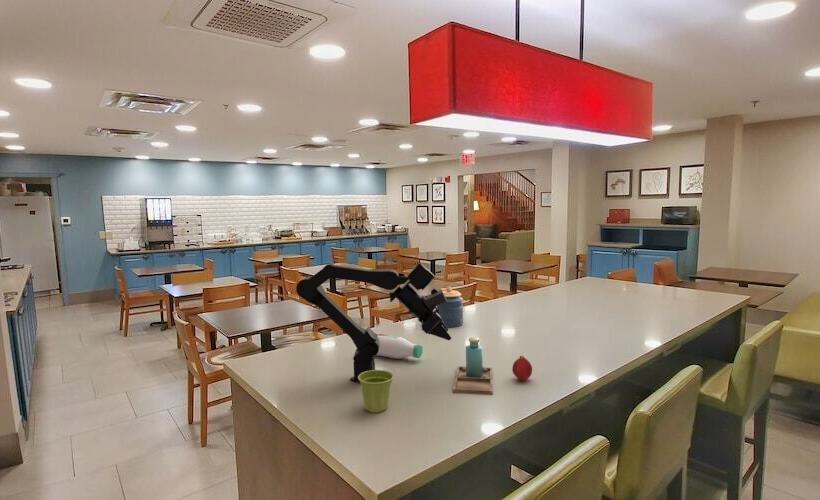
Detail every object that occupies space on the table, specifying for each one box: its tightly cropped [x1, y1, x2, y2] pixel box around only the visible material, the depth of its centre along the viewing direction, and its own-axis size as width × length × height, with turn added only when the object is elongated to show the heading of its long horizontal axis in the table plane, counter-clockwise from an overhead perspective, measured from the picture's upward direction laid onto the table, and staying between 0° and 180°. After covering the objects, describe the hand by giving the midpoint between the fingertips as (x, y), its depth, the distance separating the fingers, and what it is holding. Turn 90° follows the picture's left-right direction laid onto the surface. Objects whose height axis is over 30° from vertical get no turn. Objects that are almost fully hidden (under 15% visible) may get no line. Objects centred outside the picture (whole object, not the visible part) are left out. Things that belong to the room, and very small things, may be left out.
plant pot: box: [358, 369, 395, 413], centre depth 116 cm, size 9×9×9 cm
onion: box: [511, 354, 533, 381], centre depth 133 cm, size 6×6×8 cm
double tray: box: [452, 365, 494, 395], centre depth 133 cm, size 19×11×2 cm, turn 170°
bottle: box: [465, 336, 484, 378], centre depth 137 cm, size 5×5×12 cm
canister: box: [437, 286, 464, 328], centre depth 203 cm, size 13×13×18 cm
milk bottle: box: [375, 332, 424, 360], centre depth 157 cm, size 8×8×20 cm
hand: (448, 335), depth 136 cm, fingers open, 9 cm apart
